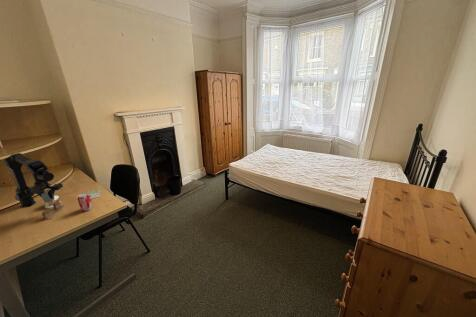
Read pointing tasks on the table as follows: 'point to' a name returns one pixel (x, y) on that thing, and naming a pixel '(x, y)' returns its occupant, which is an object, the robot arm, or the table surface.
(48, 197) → the gray rectangular block
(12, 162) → the robot arm
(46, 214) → the notched board
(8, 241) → the table surface
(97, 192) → the handheld gaming console
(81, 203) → the soda can
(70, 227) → the table surface
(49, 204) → the bobbin
